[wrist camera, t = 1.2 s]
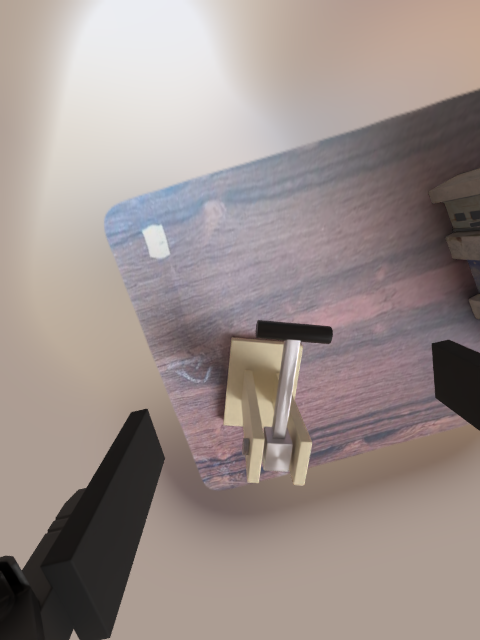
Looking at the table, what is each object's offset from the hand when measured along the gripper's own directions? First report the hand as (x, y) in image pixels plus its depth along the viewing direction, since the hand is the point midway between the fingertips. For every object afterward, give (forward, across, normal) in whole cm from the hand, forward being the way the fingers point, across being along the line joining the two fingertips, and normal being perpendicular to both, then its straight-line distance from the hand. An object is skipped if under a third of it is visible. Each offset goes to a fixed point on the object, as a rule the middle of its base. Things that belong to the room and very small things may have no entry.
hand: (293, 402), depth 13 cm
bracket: (+24, -1, -11) cm, 26 cm away
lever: (+12, 0, -6) cm, 13 cm away
